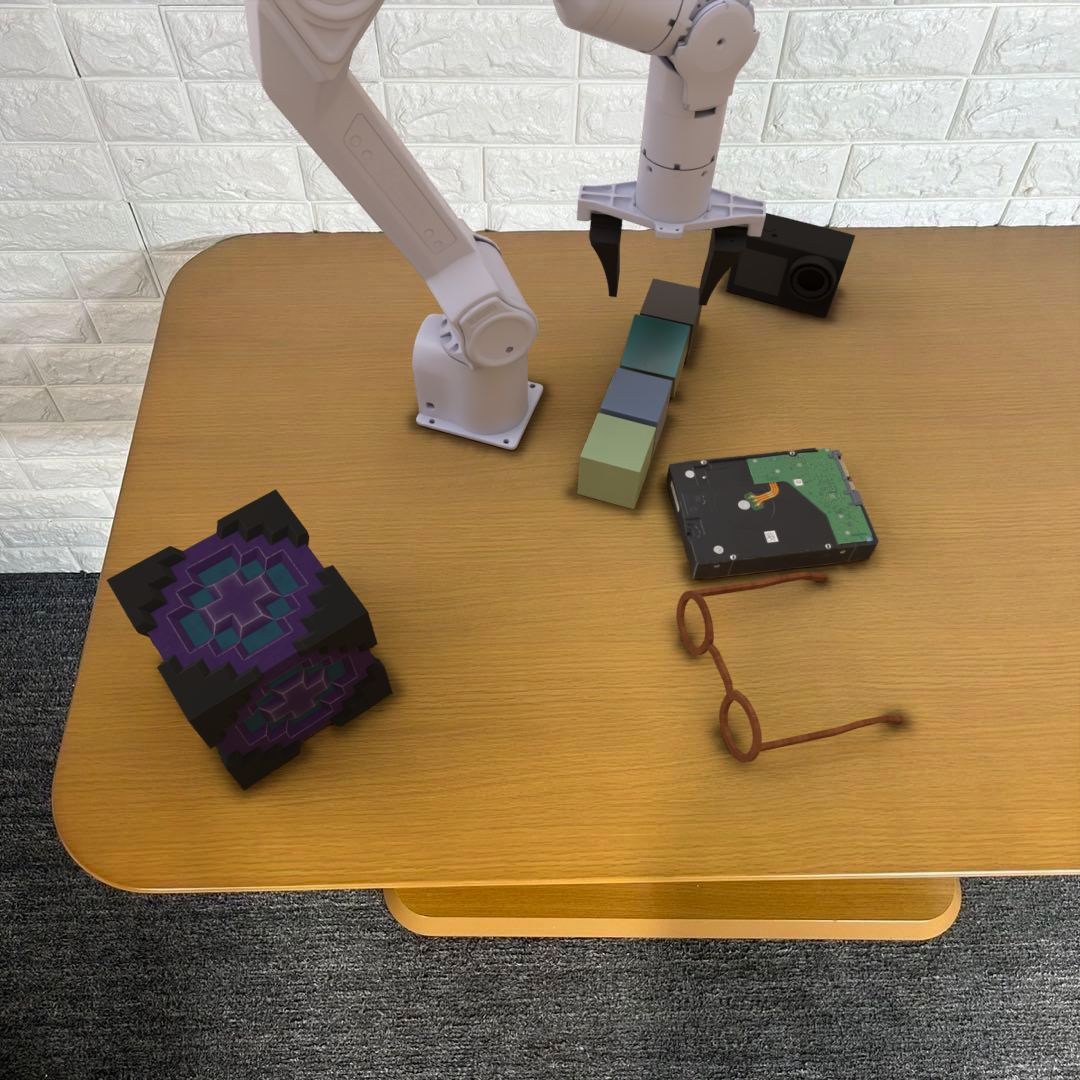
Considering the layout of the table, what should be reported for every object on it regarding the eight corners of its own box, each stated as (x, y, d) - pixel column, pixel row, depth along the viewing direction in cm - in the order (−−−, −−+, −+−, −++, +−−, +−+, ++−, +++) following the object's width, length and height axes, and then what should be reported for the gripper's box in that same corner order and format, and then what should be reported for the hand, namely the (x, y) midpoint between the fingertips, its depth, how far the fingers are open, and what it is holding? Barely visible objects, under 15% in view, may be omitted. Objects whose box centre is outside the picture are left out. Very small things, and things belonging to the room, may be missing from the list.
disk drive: (692, 585, 71) (872, 561, 72) (697, 566, 69) (883, 541, 70) (663, 483, 77) (830, 461, 78) (666, 462, 75) (838, 440, 76)
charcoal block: (634, 353, 85) (639, 312, 81) (647, 318, 88) (653, 277, 84) (686, 365, 85) (693, 324, 80) (697, 329, 87) (705, 289, 83)
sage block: (577, 494, 76) (579, 456, 72) (594, 451, 79) (597, 412, 74) (634, 509, 75) (640, 472, 71) (649, 465, 78) (656, 427, 74)
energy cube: (169, 664, 67) (106, 579, 57) (311, 581, 71) (275, 488, 61) (243, 790, 61) (188, 721, 52) (392, 693, 66) (368, 611, 56)
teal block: (621, 386, 83) (619, 365, 78) (635, 337, 84) (634, 313, 79) (673, 398, 82) (675, 378, 77) (687, 349, 83) (690, 325, 78)
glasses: (670, 615, 69) (679, 581, 65) (824, 576, 71) (842, 541, 67) (737, 775, 62) (751, 748, 58) (905, 726, 64) (931, 697, 60)
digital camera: (720, 298, 90) (733, 240, 84) (735, 265, 93) (749, 206, 87) (823, 326, 88) (844, 268, 82) (835, 292, 90) (856, 233, 85)
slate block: (596, 446, 79) (599, 407, 75) (612, 406, 82) (616, 366, 77) (651, 460, 78) (658, 422, 74) (665, 420, 81) (672, 380, 77)
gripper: (575, 171, 64) (569, 316, 76) (779, 189, 63) (742, 333, 75) (585, 116, 68) (578, 262, 80) (778, 132, 67) (743, 278, 79)
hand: (658, 293), depth 77 cm, fingers open, 7 cm apart
